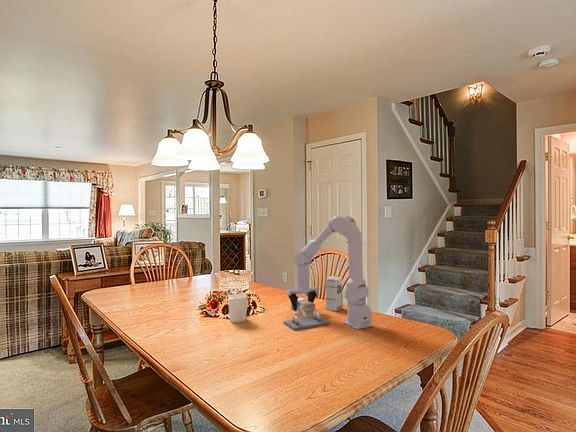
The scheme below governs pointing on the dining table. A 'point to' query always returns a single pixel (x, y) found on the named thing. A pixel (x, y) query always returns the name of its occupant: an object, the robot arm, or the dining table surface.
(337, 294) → the syrup box
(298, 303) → the white blocky piece
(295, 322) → the peg stand
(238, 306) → the white cup
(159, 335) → the dining table surface
